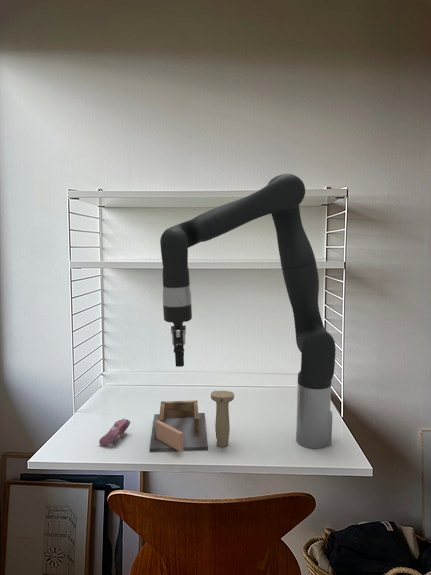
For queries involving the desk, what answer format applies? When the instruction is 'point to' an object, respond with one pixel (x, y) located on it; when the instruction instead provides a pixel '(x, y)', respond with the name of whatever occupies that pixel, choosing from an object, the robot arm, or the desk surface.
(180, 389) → the desk surface
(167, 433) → the gate
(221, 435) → the handle
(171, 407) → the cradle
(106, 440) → the mauve rounded lump
